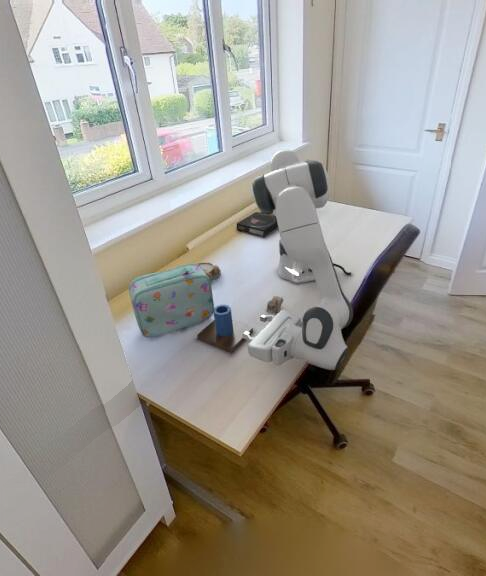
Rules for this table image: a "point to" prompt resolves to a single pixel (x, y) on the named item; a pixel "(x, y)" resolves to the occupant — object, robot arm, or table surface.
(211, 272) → the alarm clock
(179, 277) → the lunch box
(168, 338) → the table surface
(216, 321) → the blue faceted hollow tube
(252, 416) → the table surface
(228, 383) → the table surface
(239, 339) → the platform
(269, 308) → the toy character
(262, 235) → the portable cd player
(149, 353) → the table surface
